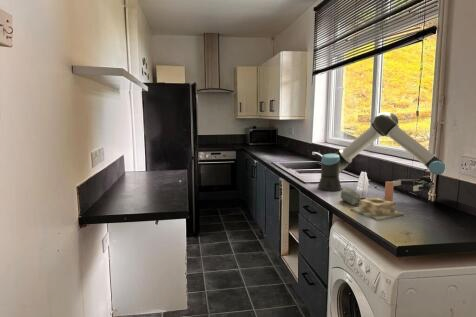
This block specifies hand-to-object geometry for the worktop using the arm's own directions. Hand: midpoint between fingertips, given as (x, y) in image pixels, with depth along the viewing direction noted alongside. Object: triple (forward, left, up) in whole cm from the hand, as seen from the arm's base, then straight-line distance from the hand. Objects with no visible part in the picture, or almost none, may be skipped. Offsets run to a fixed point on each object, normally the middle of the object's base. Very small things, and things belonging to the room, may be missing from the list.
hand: (402, 186), depth 178 cm
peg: (0, -10, -11) cm, 15 cm away
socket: (+4, -23, -11) cm, 26 cm away
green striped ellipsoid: (-16, -22, -11) cm, 30 cm away
